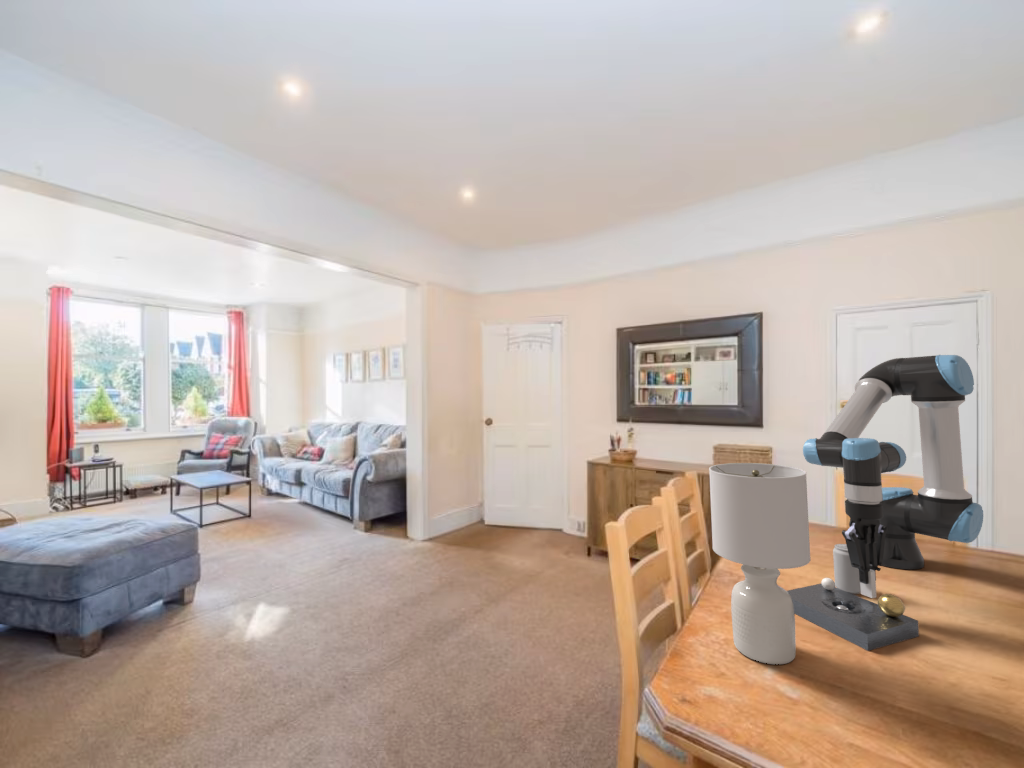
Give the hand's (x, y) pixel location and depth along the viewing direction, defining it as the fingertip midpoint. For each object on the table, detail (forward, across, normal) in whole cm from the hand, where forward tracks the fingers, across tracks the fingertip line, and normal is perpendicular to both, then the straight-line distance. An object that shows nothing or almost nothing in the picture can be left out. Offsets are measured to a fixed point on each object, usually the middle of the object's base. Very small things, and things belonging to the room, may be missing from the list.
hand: (868, 595), depth 113 cm
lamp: (+4, +37, +3) cm, 37 cm away
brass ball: (-1, +4, +8) cm, 9 cm away
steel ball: (+3, +9, 0) cm, 10 cm away
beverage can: (+5, -8, -11) cm, 15 cm away
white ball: (-1, +4, -7) cm, 8 cm away
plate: (+4, +9, 0) cm, 10 cm away
